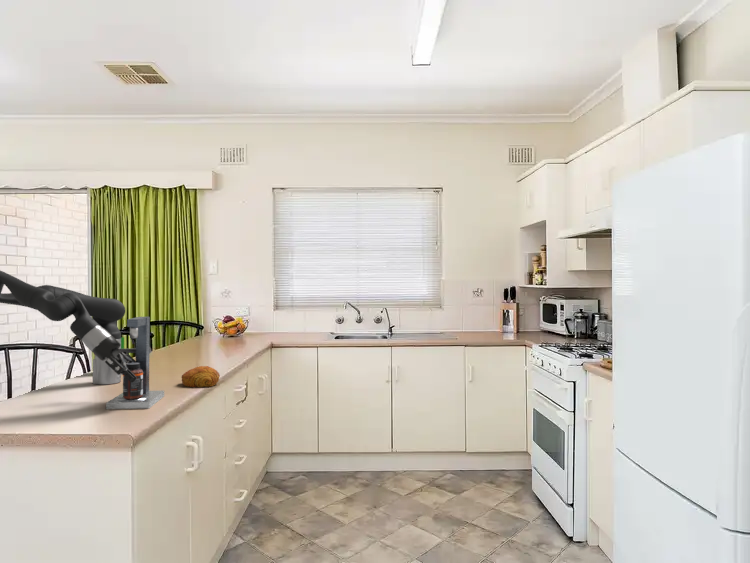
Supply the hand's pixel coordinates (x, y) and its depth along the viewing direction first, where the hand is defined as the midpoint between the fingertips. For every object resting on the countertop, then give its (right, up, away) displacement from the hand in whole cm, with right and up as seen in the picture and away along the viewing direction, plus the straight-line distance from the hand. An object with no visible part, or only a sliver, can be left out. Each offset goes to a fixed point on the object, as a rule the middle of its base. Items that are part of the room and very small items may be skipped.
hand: (138, 378), depth 176 cm
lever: (-11, +6, +12) cm, 17 cm away
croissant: (+9, -9, +36) cm, 38 cm away
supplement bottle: (-2, -7, 0) cm, 7 cm away
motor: (-37, -8, +58) cm, 69 cm away
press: (-2, -9, +3) cm, 9 cm away
